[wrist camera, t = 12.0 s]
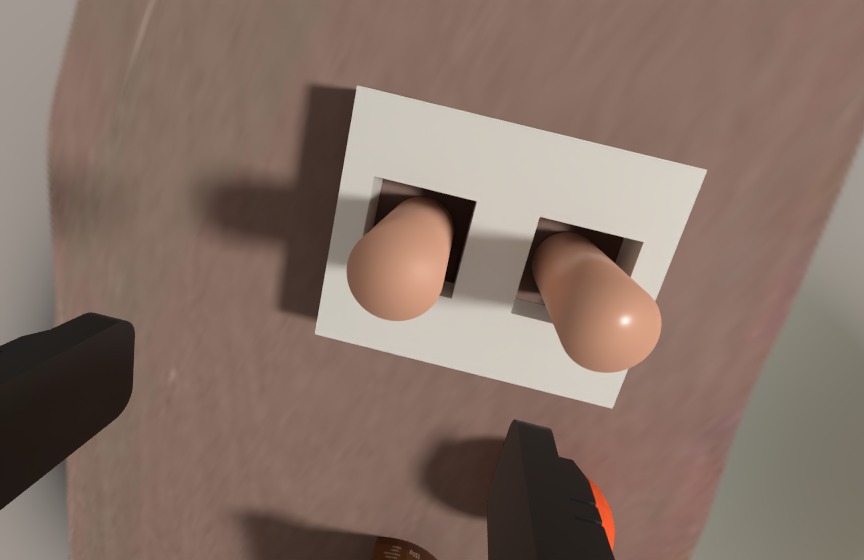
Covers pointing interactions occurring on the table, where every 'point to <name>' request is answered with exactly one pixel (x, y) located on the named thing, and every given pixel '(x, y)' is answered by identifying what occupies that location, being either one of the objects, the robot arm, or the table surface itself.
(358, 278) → the pin
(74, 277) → the table surface
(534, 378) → the pin board
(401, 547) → the food container
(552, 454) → the robot arm
